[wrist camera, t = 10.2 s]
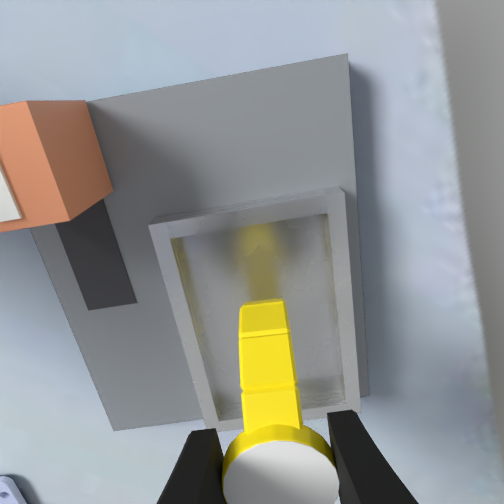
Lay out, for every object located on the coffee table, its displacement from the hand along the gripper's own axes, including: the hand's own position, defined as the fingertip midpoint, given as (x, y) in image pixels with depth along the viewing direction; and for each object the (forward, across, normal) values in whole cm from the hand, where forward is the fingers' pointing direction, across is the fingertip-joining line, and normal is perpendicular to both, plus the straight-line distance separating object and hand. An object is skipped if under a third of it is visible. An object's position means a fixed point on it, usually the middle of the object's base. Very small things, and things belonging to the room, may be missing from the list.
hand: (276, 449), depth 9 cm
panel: (+8, +2, -2) cm, 8 cm away
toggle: (+6, +6, -8) cm, 11 cm away
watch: (+5, 0, +1) cm, 5 cm away
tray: (+6, 0, 0) cm, 6 cm away
